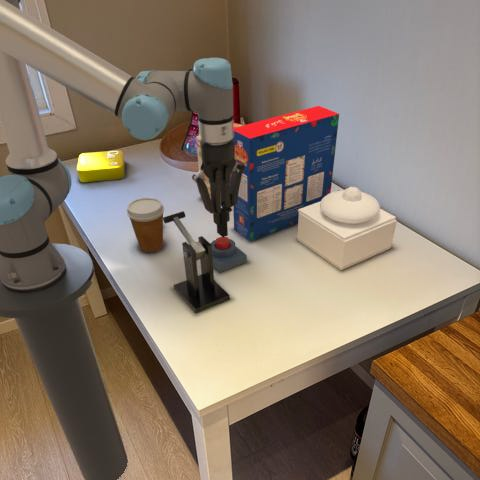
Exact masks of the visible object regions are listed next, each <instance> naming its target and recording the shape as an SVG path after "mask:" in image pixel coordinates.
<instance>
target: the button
mask: <svg viewBox="0 0 480 480" xmlns="http://www.w3.org/2000/svg"><path fill="white" fill-rule="evenodd" d="M229 239H230V238H229V237H228V236H225V237H222V236H218V237H217V238H216V239H214V240H215V245H216V248H217V249H220V250H224V249H228V248H229V247H230V240H229Z"/></svg>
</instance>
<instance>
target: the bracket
mask: <svg viewBox="0 0 480 480" xmlns="http://www.w3.org/2000/svg"><path fill="white" fill-rule="evenodd" d="M197 242H200V243H201V245H202V246H203V248H204V249H205V256H204V258H201V259H199V261H200V262H199V264H200V273H201V274H199V273H198V272H199V271H198V263H197V262H198V260H196V251H195V250H194V249H193V248H192V247H191V246H190V245H189V243H188V242H187V241H183V242H182V243H181V246H182V255H183V262H184V263H183V265H184V271H185V280H183V281H180V282H178V283H175V284H173V290H174V291H175V292H176V293H177V294H178V295H179V296H180V297H181V299H182V300H183V301H184V302H185V303H186V304H187V305H188V306H189V307H190V309H191V310H192V311H193V312H194V313H195V314H198V313H200V312H203V311H205V310H208V309H210V308H212V307H215V306H217V305H220V304H222V303H224V302H227V301H229V300H231V295H230V294H229V293H228V292H227V291H226V290H225V289H224V288H223V287H222V286H221V285H220V284H219V283H218V282H217V281H216V280H215V273H214V272H215V271H214V266H213V256H212V245H211V244H210V243H211V242H209V241H208V240H207V239H206V238H205V237H204V236H202V235H201V236H198V237H197Z"/></svg>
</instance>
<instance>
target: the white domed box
mask: <svg viewBox="0 0 480 480" xmlns="http://www.w3.org/2000/svg"><path fill="white" fill-rule="evenodd" d="M298 212H299V218H298V224H297V235H296V236H297V237H296V241H298V242H299V243H301V244H302V245H304V246H305V247H306V248H308V249H309V250H311V251H312V252H314V253H315V254H316V255H318V256H320V257H321V258H322V259H324V260H325V261H327V262H329V264H331V265H333V266H334V267H335V268H337V269H339V270H340V271H343V270H345V269H347V268H350V267H352V266H354V265H356V264H359V263H361V262H363V261H365V260H368V259H369V258H372V257H374V256H376V255H378V254H381V253H383V252H386V251H388V250H390V249H391V248H392V246H393V241H394V236H395V231H396V227H397V222H398V220H397V217H396V216H395V215H393V214H392V213H390V212H388V211H386V210H384V209H382V208H381V206H380V203H379V201H378V200H377V199H376V198H375V197H373V196H372V195H370V194H368V193H366V192H364V191H361V190H360V189H359V188H358V187H356V186H349V187H347V188H345V189H341V190H336V191H331V193H330V194H328V195H326V196H325V197H324V198H323V199H322V200H321V201H320V202H317V203H315V204H312V205H309V206H306V207H304V208H301V209H298Z"/></svg>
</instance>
